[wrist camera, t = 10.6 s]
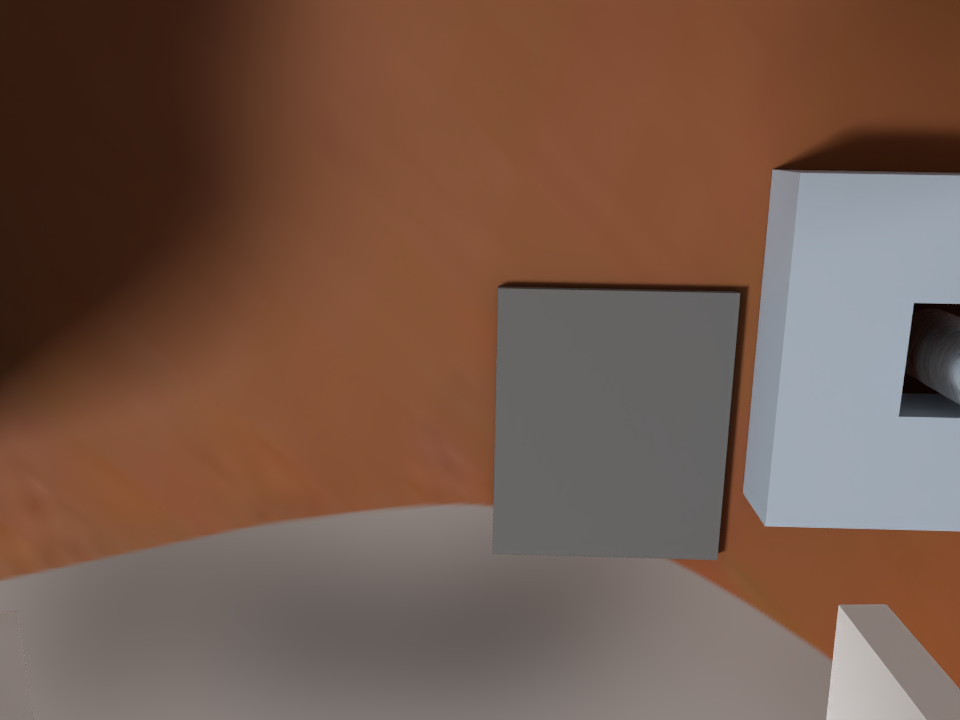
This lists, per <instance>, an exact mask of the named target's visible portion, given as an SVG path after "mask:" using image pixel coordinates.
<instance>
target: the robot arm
mask: <svg viewBox="0 0 960 720" xmlns="http://www.w3.org/2000/svg"><path fill="white" fill-rule="evenodd" d="M0 720H34V718H33V711H32V704H31V698H30V691H29V684H28V677H27V671H26V664H25V658H24V651H23V644H22V637H21V631H20V624H19V618H18V612H17V611H5V612H4V611H0ZM826 720H960V689H959V688H958V687H957V686H956V684H955V683H954V682H953V681H952V680H951V679H950V677H949V676H948V675H947V674H946V673H945V672H944V670H943V669H942V668H941V667H940V666H939V665H938V664H937V662H936V661H935V660H934V659H933V658H932V657H931V655H930V654H929V653H928V652H927V651H926V650H925V649H924V647H923V646H922V645H921V644H920V643H919V642H918V640H917V639H916V638H915V637H914V636H913V635H912V633H911V632H910V631H909V630H908V629H907V628H906V627H905V625H904V624H903V623H902V622H901V621H900V620H899V618H898V617H897V616H896V615H895V614H894V613H893V612H892V610H891V609H890V608H889V607H888V606H887V605H886V604H872V605H839V607H838V617H837V626H836V635H835V644H834V654H833V663H832V673H831V682H830V691H829V700H828V710H827V719H826Z"/></svg>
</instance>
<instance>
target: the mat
mask: <svg viewBox="0 0 960 720" xmlns="http://www.w3.org/2000/svg"><path fill="white" fill-rule="evenodd" d="M739 304H740V293H739V292H738V291H699V290H650V289H600V288H551V287H501V286H498V323H497V370H496V417H495V465H494V514H493V554H514V555H515V554H516V555H554V556H589V557H628V558H664V559H702V560H717V558H718V547H719V535H720V524H721V512H722V500H723V489H724V477H725V466H726V454H727V443H728V431H729V419H730V408H731V396H732V385H733V373H734V362H735V350H736V338H737V327H738V315H739Z"/></svg>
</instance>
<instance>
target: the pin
mask: <svg viewBox="0 0 960 720" xmlns="http://www.w3.org/2000/svg"><path fill="white" fill-rule="evenodd" d="M905 373H906V374H908V375H910V376H911V377H913V378H915V379H916V380H918V381H920V382H922V383H923V384H925V385H927V386H928V387H930V388H932V389H934V390H935V391H937V392H939V393H940V394H942V395H944V396H946V397H947V398H949V399H951V400H953V401H954V402H956V403H958V404H959V405H960V317H958V316H956V315H953V314H951V313H948V312H946V311H943V310H940V309H935V308H926V309H921V310H917V311H915V312H913V314H912V321H911V329H910V336H909V344H908V351H907V359H906V366H905Z"/></svg>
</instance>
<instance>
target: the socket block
mask: <svg viewBox="0 0 960 720" xmlns="http://www.w3.org/2000/svg"><path fill="white" fill-rule="evenodd" d="M914 303H936V304H960V173H942V172H884V171H826V170H773V171H772V182H771V193H770V204H769V215H768V226H767V237H766V247H765V258H764V269H763V280H762V291H761V302H760V313H759V323H758V334H757V345H756V356H755V367H754V378H753V389H752V400H751V410H750V421H749V432H748V443H747V454H746V465H745V476H744V486H743V494H744V496H745V497H746V498H747V500H748V501H749V503H750V504H751V506H752V507H753V509H754V510H755V512H756V513H757V515H758V516H759V518H760V519H761V521H762V522H763V524H764V525H765V526H776V527H814V528H853V529H892V530H931V531H960V405H959V404H958V403H956V402H954V401H953V400H951V399H949V398H947V397H946V396H944V395H942V394H924V393H902V389H903V381H904V374H905V366H906V359H907V351H908V344H909V336H910V329H911V321H912V314H913V306H914Z"/></svg>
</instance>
